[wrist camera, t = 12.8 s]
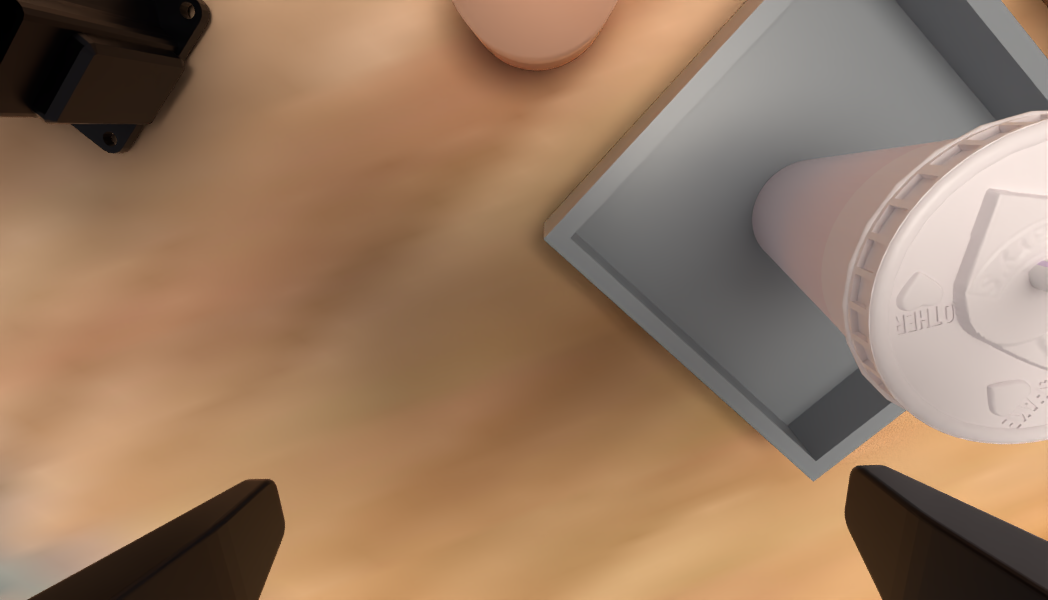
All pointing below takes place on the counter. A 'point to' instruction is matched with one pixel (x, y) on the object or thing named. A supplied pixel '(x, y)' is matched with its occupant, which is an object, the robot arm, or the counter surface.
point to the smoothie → (931, 270)
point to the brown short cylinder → (536, 28)
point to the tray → (751, 160)
